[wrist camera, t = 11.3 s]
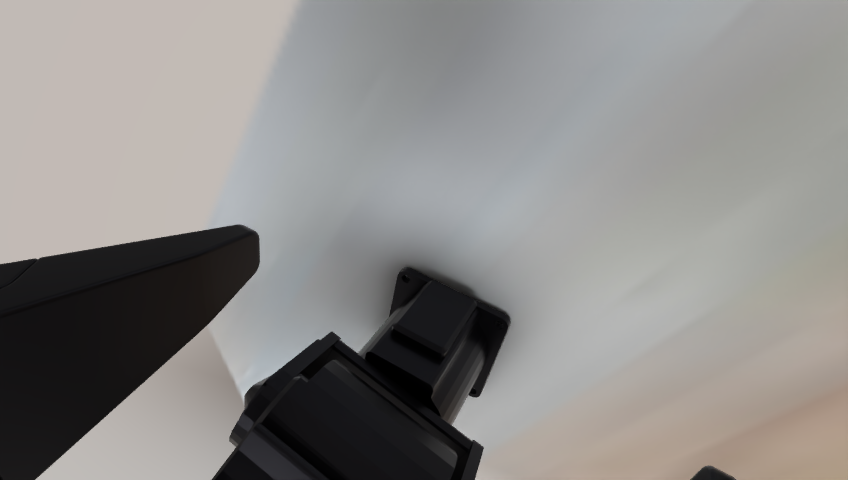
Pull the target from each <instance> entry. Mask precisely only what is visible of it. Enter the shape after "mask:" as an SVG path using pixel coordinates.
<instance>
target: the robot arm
mask: <svg viewBox="0 0 848 480" xmlns="http://www.w3.org/2000/svg"><path fill="white" fill-rule="evenodd" d="M259 263H260V246H259V235H258V233H257V232H256V231H254V230H252V229H250V228H248V227H246V226H244V225H233V226H227V227H221V228H215V229H209V230H203V231H197V232H191V233H185V234H179V235H173V236H168V237H161V238H155V239H149V240H143V241H138V242H131V243H126V244H120V245H114V246H108V247H101V248H95V249H89V250H83V251H78V252H72V253H66V254H60V255H54V256H48V257H42V258H40V259H29V260H23V261H18V262H12V263H6V264H0V480H35V479H36V478H37V477H39V476H40V475H41V474H42V473H43V472H44V471H45V470H46V469H48V468H49V467H50V466H51V465H52V464H53V463H54V462H55V461H56V460H58V459H59V458H60V457H61V456H62V455H63V454H64V453H65V452H66V451H68V450H69V449H70V448H71V447H72V446H73V445H74V444H75V443H76V442H78V441H79V440H80V439H81V438H82V437H83V436H84V435H85V434H87V433H88V432H89V431H90V430H91V429H92V428H93V427H94V426H95V425H97V424H98V423H99V422H100V421H101V420H102V419H103V418H104V417H106V416H107V415H108V414H109V413H110V412H111V411H112V410H113V409H114V408H116V407H117V406H118V405H119V404H120V403H121V402H122V401H123V400H124V399H126V398H127V397H128V396H129V395H130V394H131V393H132V392H133V391H135V390H136V389H137V388H138V387H139V386H140V385H141V384H142V383H144V382H145V381H146V380H147V379H148V378H149V377H150V376H151V375H152V374H154V372H156V371H157V370H158V369H159V368H160V367H161V366H162V365H164V364H165V363H166V362H167V361H168V360H169V359H170V358H171V357H172V356H173V355H175V354H176V353H177V352H178V351H179V350H180V349H181V348H182V347H184V346H185V345H186V344H187V343H188V342H189V341H190V340H191V339H193V338H194V337H195V336H196V335H197V334H198V333H199V332H200V331H201V330H202V329H204V327H206V326H207V325H208V324H209V323H210V322H211V321H212V320H213V319H214V318H215V317H216V315H217V314H218V313H219V312H220V311H221V310H222V309H223V308H224V307H225V306H226V304H227V303H228V302H229V301H230V300H231V299H232V298H233V297H234V296H235V295H236V293H237V292H238V291H239V290H240V289H241V288H242V287H243V286H244V285H245V284H246V283H247V281H248V280H249V279H250V278H251V277H252V276H253V275H254V274H255V272H256V271H257V269H258V267H259ZM405 275H407V276H408V277H409V279H408V278H407V277H406V276H405ZM497 321H500V322H502V323H503V325H502V324H499V323H498V322H497ZM510 323H511V321H510V319H509V317H508V316H507V315H505V314H504V313H502V312H500V311H498V310H495V309H493V308H491V307H489V306H487V305H485V304H483V303H481V302H479V301H477V300H475V299H473V298H471V297H469V296H467V295H465V294H463V293H460V292H458V291H456V290H454V289H452V288H450V287H448V286H446V285H444V284H442V283H440V282H438V281H436V280H434V279H432V278H430V277H428V276H425V275H423V274H421V273H419V272H417V271H415V270H413V269H411V268H408V267H407V268H404V269H402V270H401V271H400V272H399V274H398V277H397V282H396V286H395V291H394V296H393V301H392V306H391V310H390V315H389V318H388V319H387V321H386V322H385V323H384V324H383V325H382V326H381V328H380V329H379V330H378V331H377V332H376V333H375V334H374V336H373V337H372V338H371V339H370V340H369V341H368V342H367V344H366V345H365V346H364V347H363V348H362V349H361V351H360V352H359V353H356V352H355V351H354V350H352V349H351V348H350V347H349V346H347V345H346V344H345V343H343V342H342V341H341V340H340V339H341V338H340V337H339V336H337V335H336V334H335V333H333V332H330V333H329V334H328V335H326V336H325V337H324V338H323V339H321V340H319V339H318V340H316V341H315V342H314V343H312V344H311V345H310V346H309V347H307V348H306V349H305V350H303V351H302V352H301V353H300V354H298V355H297V356H296V357H295V358H293V359H292V360H291V361H289V362H288V363H287V364H286V365H284V366H283V367H282V368H281V369H279V370H278V371H277V372H275V373H274V374H273V375H271V376H270V377H268V378H266V379H264V380H262V381H260V382H258V383H256V384H255V385H253V386H252V387H251V388H250V389H249V390H248V391H247V393H246V394H245V410H244V411H243V413H242V415H241V416H240V419H239V421H238V422H237V423H236V425H235V427H234V429H233V430H232V433H231V435H230V438H229V441H230V442H231V443H232V444H234V445H235V446H236V448H235V450H234V451H233V452H232V454H231V455H230V456H229V458H228V459H227V460H226V462H225V463H224V464H223V465H222V467H221V468H220V469H219V471H218V472H217V473H216V475H215V476H214V477H213V479H212V480H475V477H476V473H477V470H478V466H479V463H480V459H481V456H482V452H483V449H484V447H483V446H481V445H480V444H479V443H477V442H476V441H475V440H473V441H471V440H470V439H469V438H467V437H466V436H465V435H464V434H462V433H461V432H460V431H458V430H457V429H456V428H454V427H453V426H452V424H453V422H454V420H455V419H456V417H457V415H458V413H459V411H460V409H461V407H462V405H463V404H464V402H465V400H466V398H467V396H468V395H469V396H472V397H479V396H480V394H481V392H482V390H483V388H484V386H485V383H486V381H487V379H488V376H489V374H490V372H491V369H492V367H493V364H494V362H495V360H496V357H497V355H498V353H499V350H500V348H501V346H502V343H503V341H504V339H505V336H506V334H507V331H508V329H509V327H510ZM690 480H736V479H735V478H734V477H732V476H730V475H728V474H726V473H724V472H723V471H721V470H719V469H717V468H715V467H713V466H705V467H703V468H702V469H701V470H700V471H699V472H698V473H697V474H696V475H695V476H694V477H692V478H691V479H690Z"/></svg>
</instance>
